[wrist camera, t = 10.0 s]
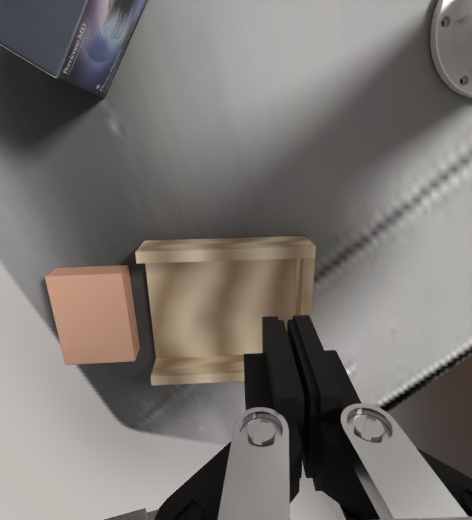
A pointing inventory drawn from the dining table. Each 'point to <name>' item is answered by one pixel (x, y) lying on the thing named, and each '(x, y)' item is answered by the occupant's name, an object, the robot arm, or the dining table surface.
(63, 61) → the small box
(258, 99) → the dining table surface
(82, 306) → the cover plate
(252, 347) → the wooden tray
